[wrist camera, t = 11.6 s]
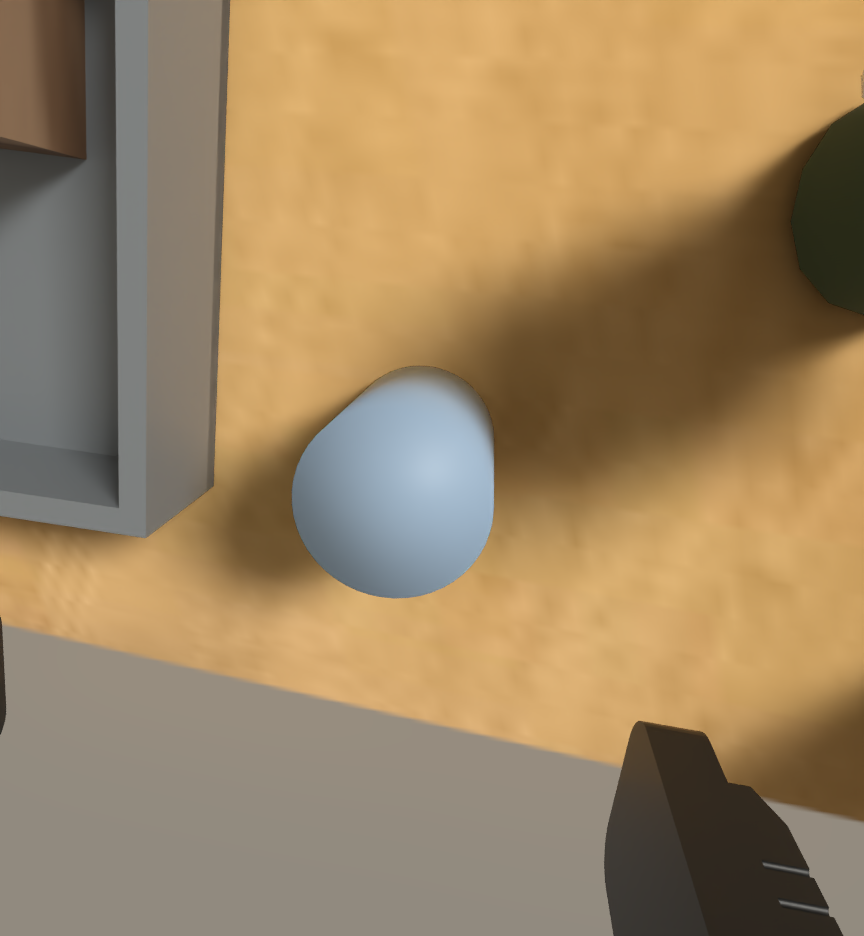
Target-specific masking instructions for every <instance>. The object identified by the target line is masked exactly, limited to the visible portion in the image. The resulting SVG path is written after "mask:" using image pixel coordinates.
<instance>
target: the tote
mask: <svg viewBox="0 0 864 936" xmlns="http://www.w3.org/2000/svg"><path fill="white" fill-rule="evenodd" d="M229 16H230V0H85V74H86V152H87V160H84V159H77V158H69V157H62V156H54V155H46V154H39V153H31V152H24V151H16V150H9V149H1V148H0V516H4V517H11V518H17V519H24V520H30V521H37V522H44V523H50V524H57V525H63V526H70V527H76V528H83V529H89V530H96V531H103V532H109V533H116V534H122V535H129V536H135V537H142V538H147V537H148V536H149V535H150V534H152V533H153V532H154V531H156V530H157V529H158V528H160V527H161V526H162V525H163V524H165V523H166V522H167V521H169V520H170V519H171V518H173V517H174V516H175V515H177V514H178V513H179V512H180V511H182V510H183V509H184V508H186V507H187V506H188V505H190V504H191V503H192V502H193V501H195V500H196V499H197V498H199V497H200V496H201V495H203V494H204V493H205V492H207V491H208V490H209V489H210V488H212V487H213V485H214V456H215V426H216V397H217V368H218V338H219V309H220V280H221V250H222V221H223V192H224V163H225V133H226V104H227V75H228V45H229Z"/></svg>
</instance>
